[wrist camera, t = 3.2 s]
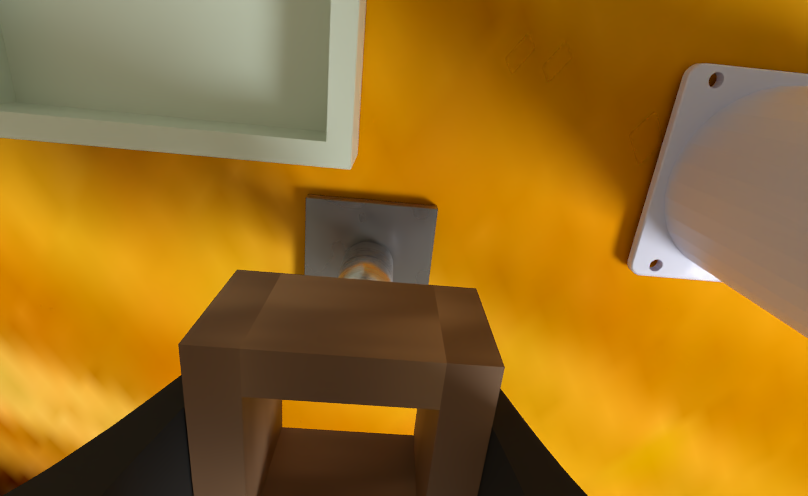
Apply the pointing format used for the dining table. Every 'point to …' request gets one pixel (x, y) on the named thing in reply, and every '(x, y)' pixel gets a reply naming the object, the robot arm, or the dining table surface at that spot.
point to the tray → (187, 76)
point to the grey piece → (369, 239)
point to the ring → (338, 386)
